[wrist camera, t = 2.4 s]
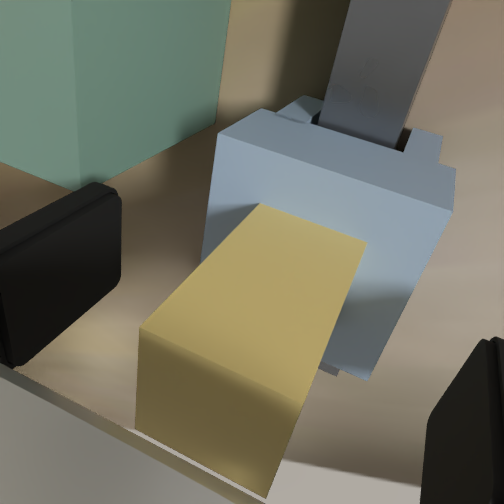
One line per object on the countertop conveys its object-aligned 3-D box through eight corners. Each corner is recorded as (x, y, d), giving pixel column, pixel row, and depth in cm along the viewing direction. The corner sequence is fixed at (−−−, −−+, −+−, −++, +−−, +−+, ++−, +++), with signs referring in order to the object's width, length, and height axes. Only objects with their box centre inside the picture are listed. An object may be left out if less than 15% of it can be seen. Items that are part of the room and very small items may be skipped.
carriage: (457, 140, 15) (440, 384, 6) (393, 279, 18) (318, 570, 9) (290, 91, 16) (62, 223, 7) (260, 229, 19) (79, 437, 10)
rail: (667, -416, 9) (830, -750, 5) (363, 297, 20) (336, 376, 16) (444, -419, 10) (428, -697, 6) (272, 261, 21) (225, 326, 17)
